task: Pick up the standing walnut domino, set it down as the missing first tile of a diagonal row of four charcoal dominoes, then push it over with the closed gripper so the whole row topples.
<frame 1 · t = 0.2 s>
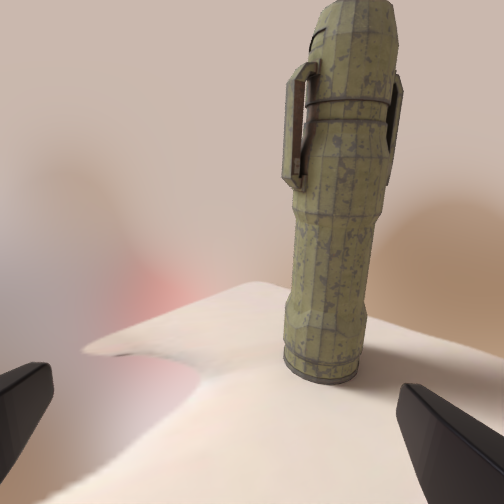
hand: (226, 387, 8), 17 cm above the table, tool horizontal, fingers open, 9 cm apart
thermos: (319, 360, 37), on the table
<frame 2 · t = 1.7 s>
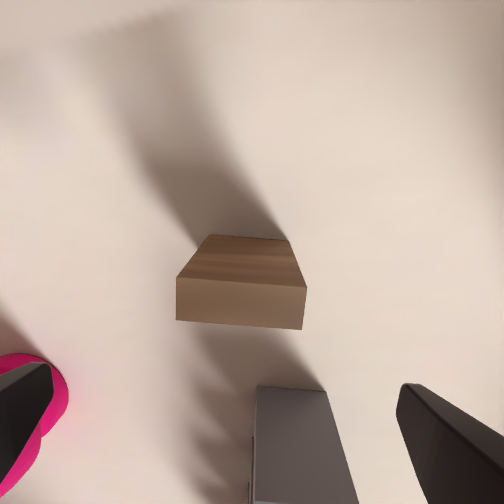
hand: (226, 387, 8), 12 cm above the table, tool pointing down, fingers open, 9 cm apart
domino 2: (290, 399, 23), on the table
domino 1: (248, 251, 20), on the table
pepper mill: (29, 387, 23), on the table
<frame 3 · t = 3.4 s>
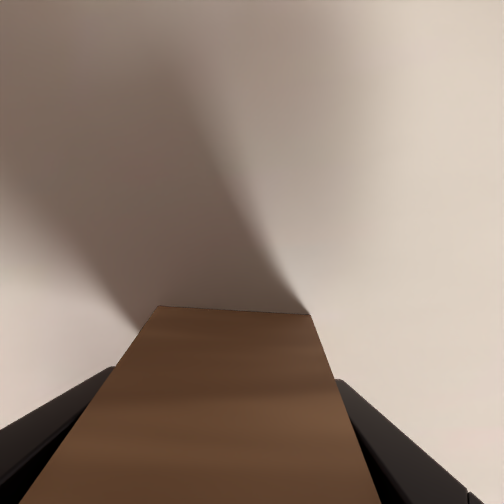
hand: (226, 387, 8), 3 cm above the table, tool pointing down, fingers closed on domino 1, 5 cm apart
domino 1: (233, 335, 10), on the table, touching gripper
when the fingers open (3 cm above the table, at t = 6.8 s): domino 1 stays where it is, on the table.
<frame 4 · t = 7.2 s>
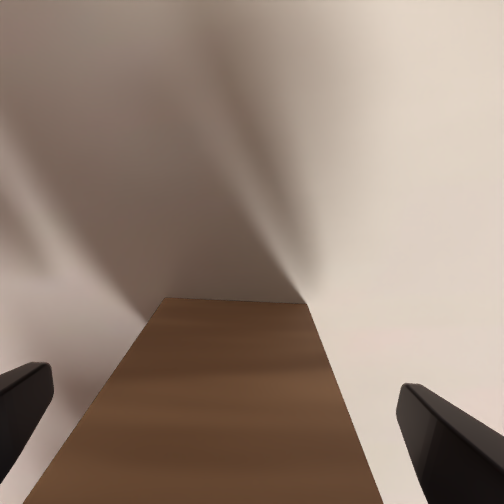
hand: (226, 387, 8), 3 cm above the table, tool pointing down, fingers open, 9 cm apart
domino 1: (235, 324, 11), on the table
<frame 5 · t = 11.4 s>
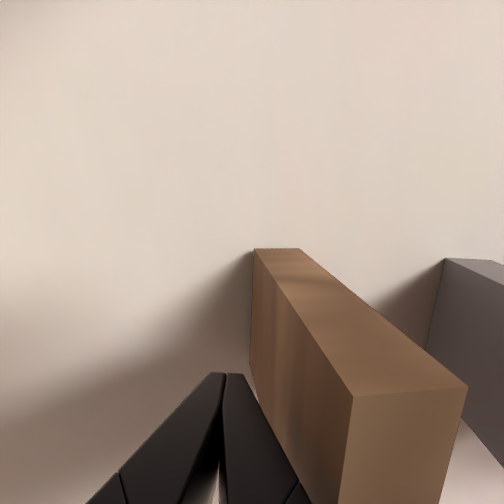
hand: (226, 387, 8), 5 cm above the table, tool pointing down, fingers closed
domino 2: (454, 317, 13), on the table
domino 1: (273, 308, 13), on the table, tilted 10°, touching gripper
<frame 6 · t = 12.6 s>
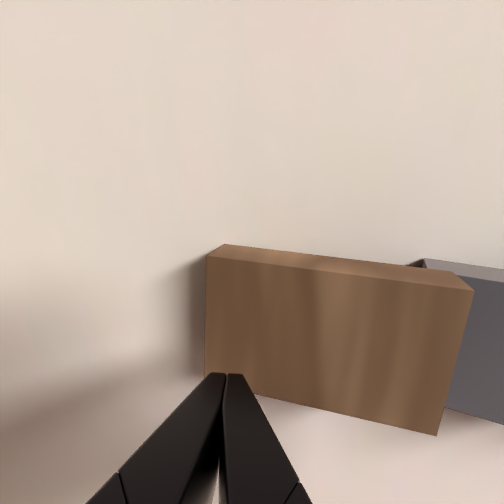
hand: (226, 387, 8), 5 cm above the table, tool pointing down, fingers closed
domino 2: (412, 325, 12), point 1 cm above the table, tilted 66°, touching domino 1, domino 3
domino 1: (214, 312, 12), point 1 cm above the table, tilted 76°, touching domino 2
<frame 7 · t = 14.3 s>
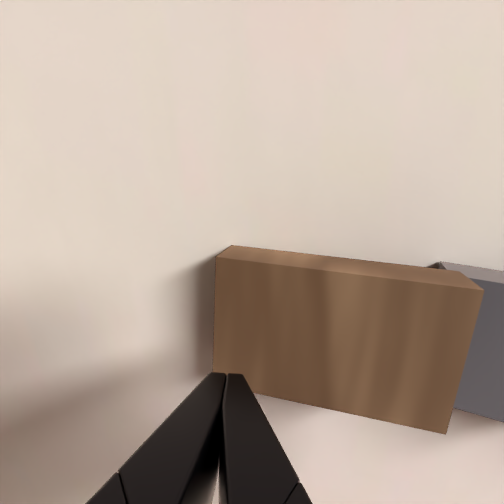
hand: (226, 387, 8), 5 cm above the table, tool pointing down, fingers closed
domino 2: (429, 328, 12), point 1 cm above the table, tilted 70°, touching domino 1, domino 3
domino 1: (222, 313, 12), point 1 cm above the table, tilted 77°, touching domino 2
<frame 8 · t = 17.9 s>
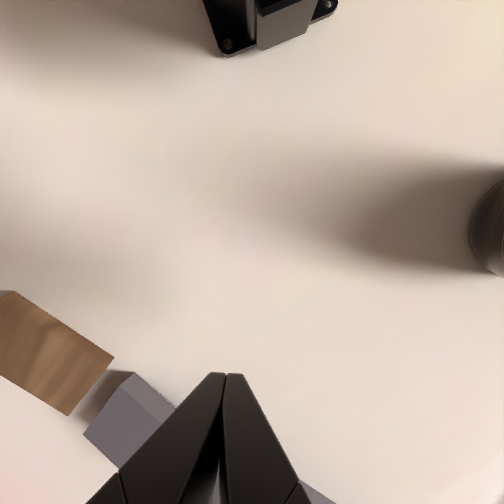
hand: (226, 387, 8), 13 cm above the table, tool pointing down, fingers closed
domino 5: (266, 490, 25), on the table, tilted 90°, touching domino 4
domino 2: (109, 402, 22), point 1 cm above the table, tilted 75°, touching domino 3
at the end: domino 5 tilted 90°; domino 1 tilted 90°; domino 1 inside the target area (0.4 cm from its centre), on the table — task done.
